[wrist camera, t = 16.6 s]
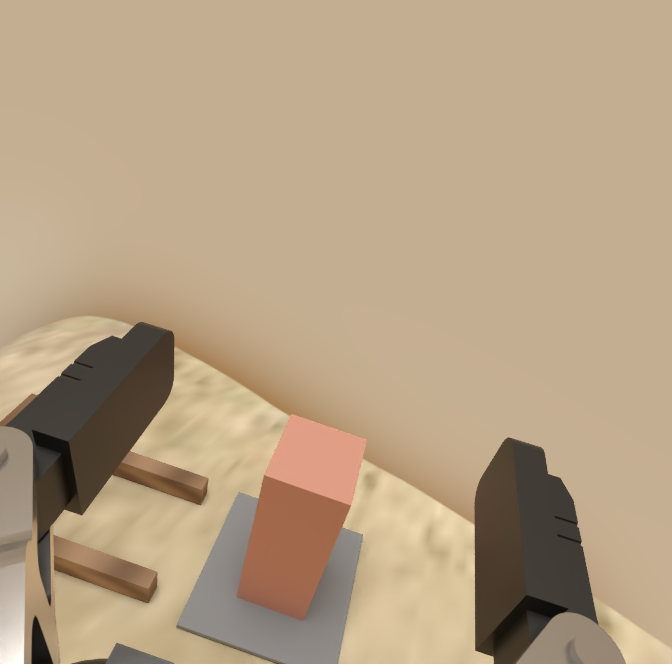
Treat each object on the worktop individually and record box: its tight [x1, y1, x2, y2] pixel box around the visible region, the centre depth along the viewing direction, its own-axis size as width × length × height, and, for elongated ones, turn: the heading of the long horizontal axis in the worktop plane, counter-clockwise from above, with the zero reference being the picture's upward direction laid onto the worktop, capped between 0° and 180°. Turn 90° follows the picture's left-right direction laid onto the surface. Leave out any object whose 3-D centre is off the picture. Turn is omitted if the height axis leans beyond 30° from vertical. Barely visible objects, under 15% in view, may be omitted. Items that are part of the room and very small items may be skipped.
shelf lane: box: [0, 394, 208, 603], centre depth 37 cm, size 16×9×5 cm, turn 76°
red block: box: [236, 414, 367, 621], centre depth 33 cm, size 5×5×14 cm
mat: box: [177, 492, 363, 664], centre depth 38 cm, size 11×11×1 cm
